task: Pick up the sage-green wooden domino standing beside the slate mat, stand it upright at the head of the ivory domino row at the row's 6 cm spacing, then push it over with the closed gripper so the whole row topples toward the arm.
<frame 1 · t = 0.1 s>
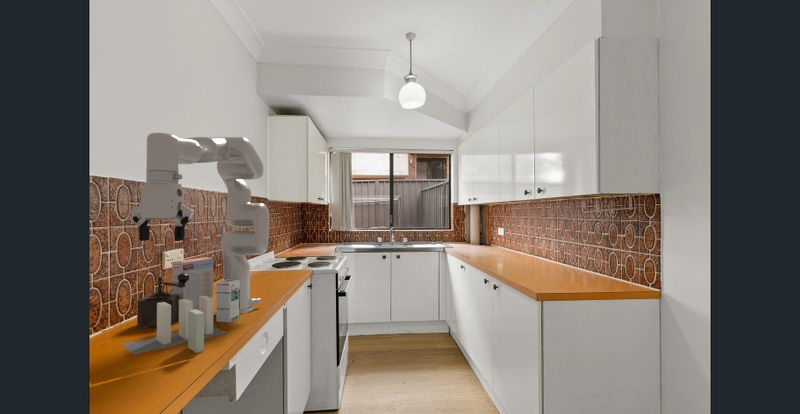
hand: (161, 240, 106), 31 cm above the worktop, tool pointing down, fingers open, 9 cm apart
domino a: (163, 341, 114), resting on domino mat
domino c: (206, 331, 123), resting on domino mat
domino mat: (176, 340, 117), on the worktop
cracker box: (193, 314, 146), on the worktop
dark block with crank: (166, 324, 133), on the worktop
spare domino: (195, 351, 107), on the worktop
domino b: (185, 336, 118), resting on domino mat
syrup box: (228, 321, 137), on the worktop
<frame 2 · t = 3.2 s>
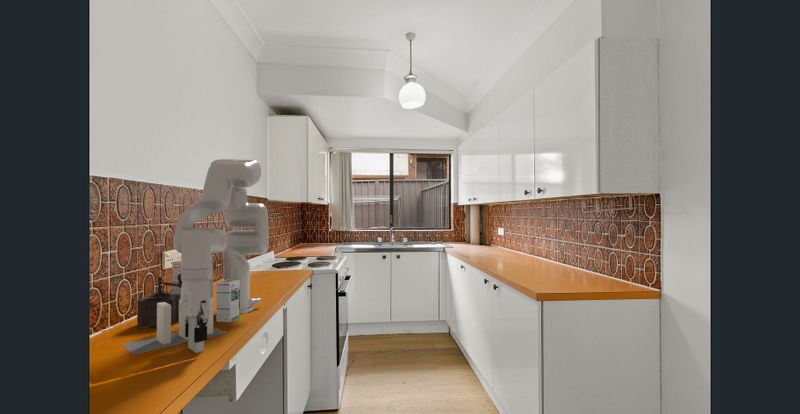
hand: (196, 338, 107), 4 cm above the worktop, tool pointing down, fingers closed on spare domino, 5 cm apart
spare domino: (195, 351, 107), on the worktop, touching gripper
everything else where it was.
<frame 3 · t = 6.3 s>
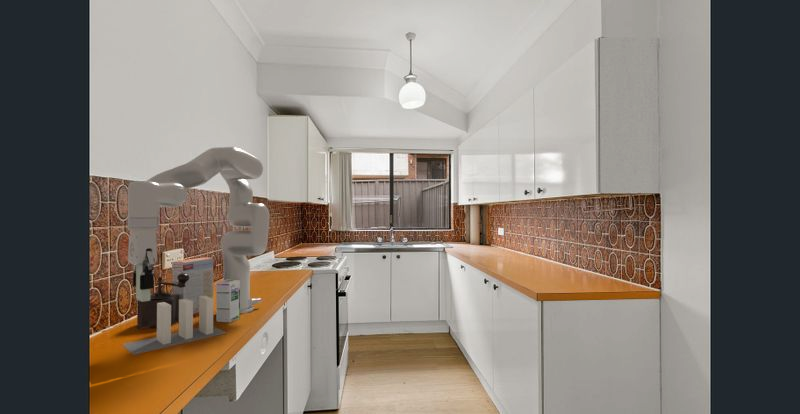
hand: (143, 286, 110), 18 cm above the worktop, tool pointing down, fingers closed on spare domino, 5 cm apart
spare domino: (142, 299, 110), point 14 cm above the worktop, touching gripper
everything else where it was.
when the fingers open (5 cm above the worktop, at t = 9.9 s): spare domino stays where it is, resting on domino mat.
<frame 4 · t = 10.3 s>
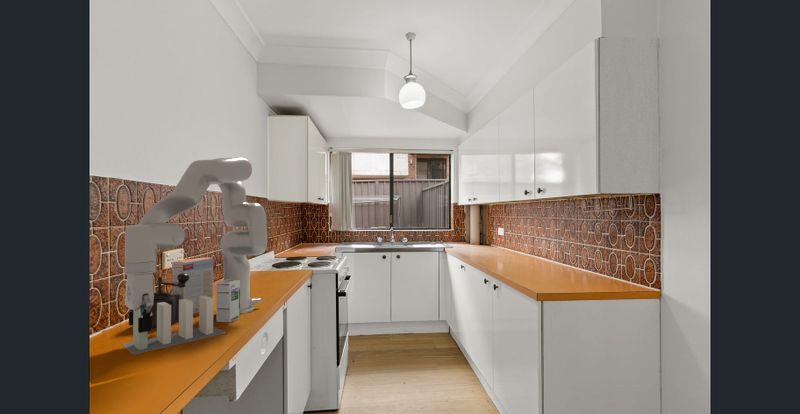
hand: (140, 327, 110), 6 cm above the worktop, tool pointing down, fingers open, 9 cm apart
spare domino: (140, 346, 110), resting on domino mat
everything else where it was.
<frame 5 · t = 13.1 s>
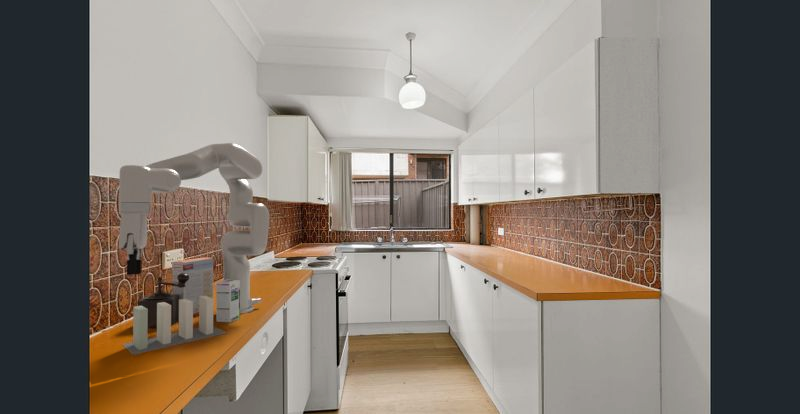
hand: (134, 273, 109), 21 cm above the worktop, tool pointing down, fingers closed
nothing on the worktop moved.
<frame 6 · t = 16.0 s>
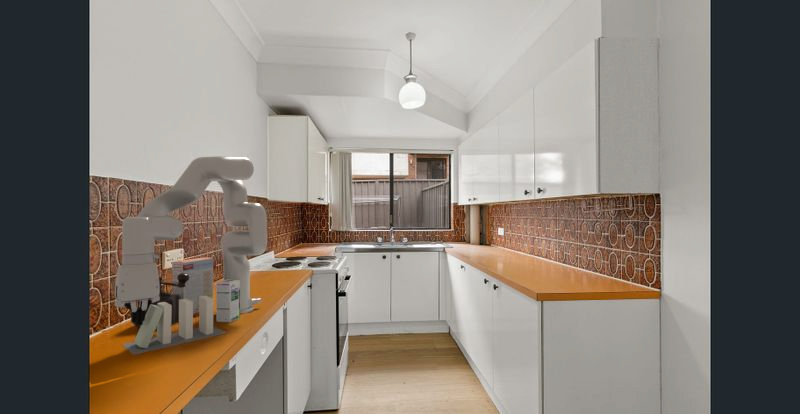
hand: (137, 324, 109), 7 cm above the worktop, tool pointing down, fingers closed
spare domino: (140, 345, 110), point 1 cm above the worktop, tilted 22°, touching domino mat
everything else where it was.
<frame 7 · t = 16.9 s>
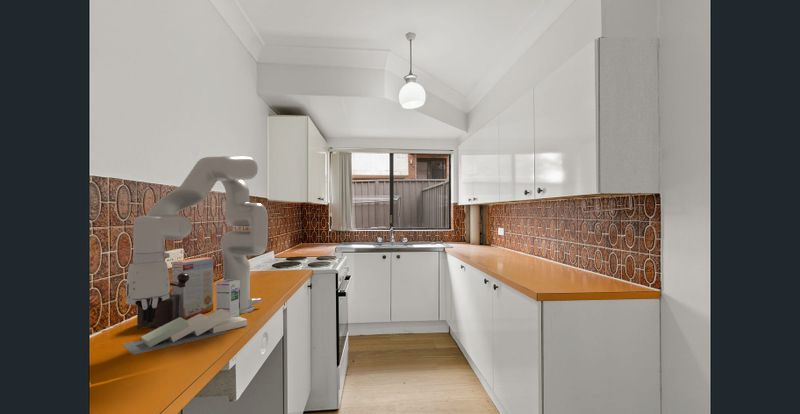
hand: (148, 321, 111), 7 cm above the worktop, tool pointing down, fingers closed
domino a: (168, 337, 115), point 1 cm above the worktop, tilted 70°, touching domino b, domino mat, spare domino
domino c: (209, 328, 124), point 1 cm above the worktop, tilted 90°, touching domino b, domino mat
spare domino: (145, 342, 110), point 1 cm above the worktop, tilted 70°, touching domino a, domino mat
domino b: (192, 331, 120), point 2 cm above the worktop, tilted 70°, touching domino a, domino c
everything else where it was.
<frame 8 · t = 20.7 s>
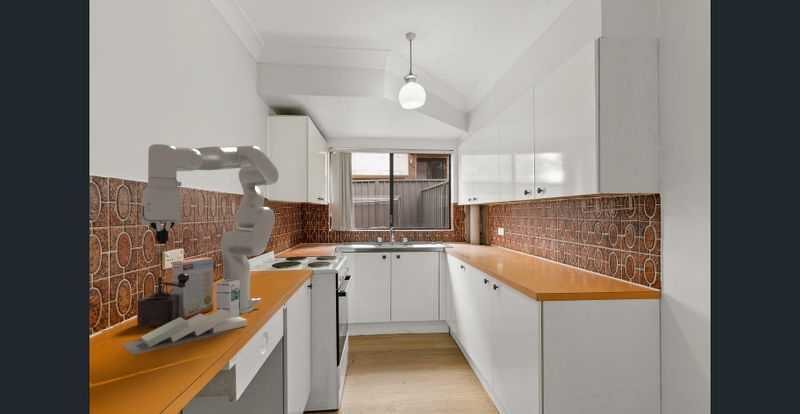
hand: (161, 243, 119), 29 cm above the worktop, tool pointing down, fingers closed
nothing on the worktop moved.
at the end: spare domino inside the target area (1.2 cm from its centre), point 1.4 cm above the worktop; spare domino tilted 70°; domino c tilted 90° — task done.
